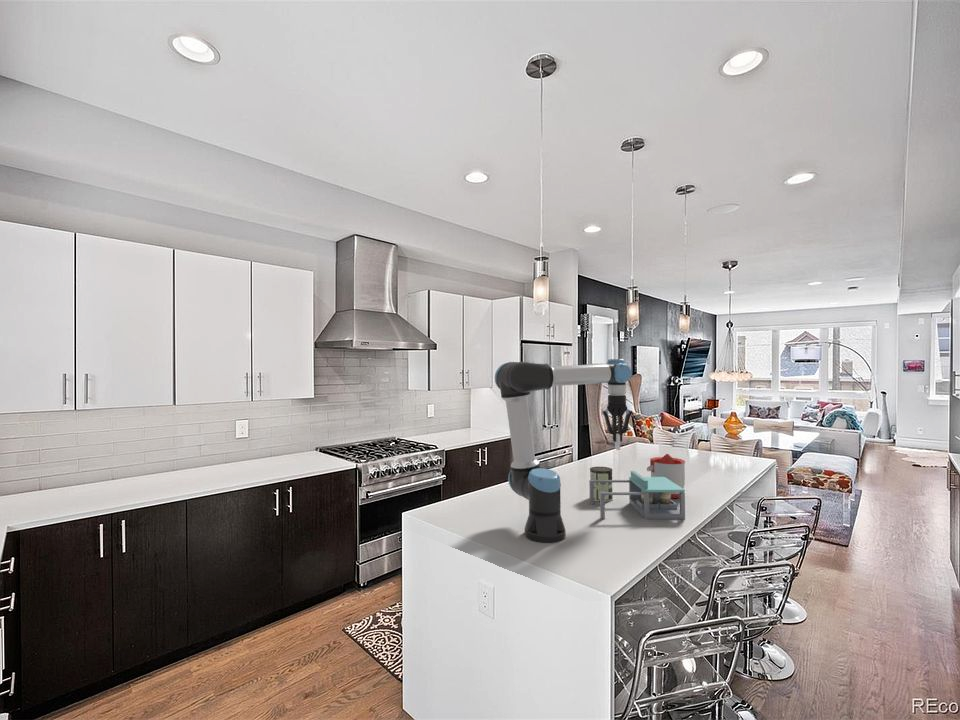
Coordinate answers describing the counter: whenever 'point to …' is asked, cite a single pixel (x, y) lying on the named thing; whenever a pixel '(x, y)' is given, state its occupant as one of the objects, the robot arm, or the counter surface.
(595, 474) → the coffee can
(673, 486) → the lid
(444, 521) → the counter surface
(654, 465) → the citrus juicer
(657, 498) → the frame
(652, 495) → the tan rounded cylinder
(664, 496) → the tan wooden cylinder
